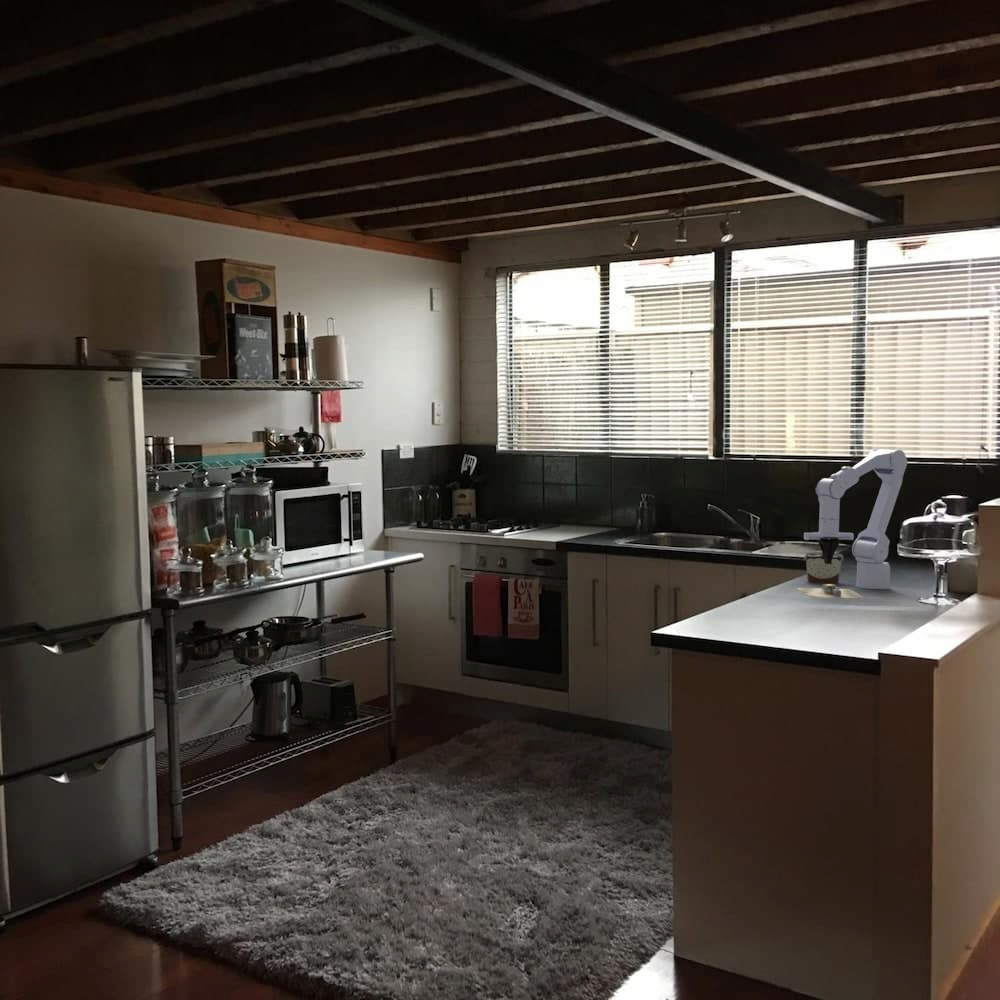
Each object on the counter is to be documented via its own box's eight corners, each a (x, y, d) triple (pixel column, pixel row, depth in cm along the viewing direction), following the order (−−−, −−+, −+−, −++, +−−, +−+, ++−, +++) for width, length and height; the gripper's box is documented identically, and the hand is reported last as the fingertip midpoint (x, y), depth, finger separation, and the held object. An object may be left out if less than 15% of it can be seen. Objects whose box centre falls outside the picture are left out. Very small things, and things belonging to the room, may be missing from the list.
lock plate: (849, 592, 330) (850, 581, 330) (864, 601, 314) (865, 589, 314) (796, 591, 331) (797, 580, 330) (809, 600, 315) (809, 588, 314)
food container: (838, 583, 347) (840, 552, 347) (843, 586, 341) (844, 554, 341) (799, 582, 349) (800, 551, 348) (803, 585, 343) (804, 553, 342)
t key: (818, 589, 328) (818, 584, 328) (831, 589, 328) (831, 584, 328) (831, 596, 316) (831, 590, 316) (845, 596, 316) (845, 590, 316)
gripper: (809, 519, 320) (808, 565, 321) (858, 520, 321) (856, 565, 322) (802, 517, 327) (800, 562, 328) (849, 517, 328) (847, 562, 329)
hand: (827, 563), depth 325 cm, fingers closed
